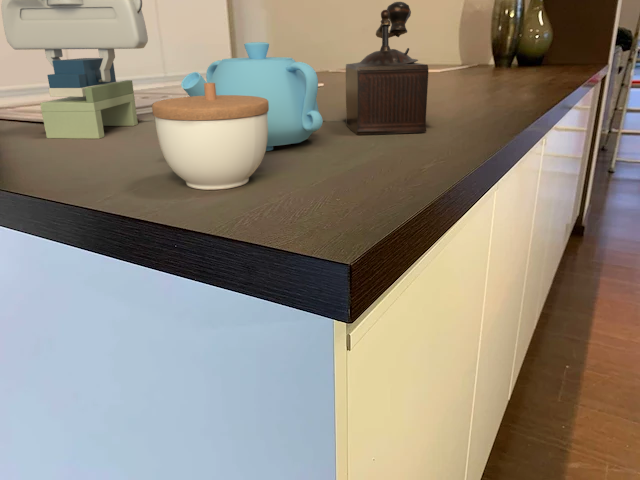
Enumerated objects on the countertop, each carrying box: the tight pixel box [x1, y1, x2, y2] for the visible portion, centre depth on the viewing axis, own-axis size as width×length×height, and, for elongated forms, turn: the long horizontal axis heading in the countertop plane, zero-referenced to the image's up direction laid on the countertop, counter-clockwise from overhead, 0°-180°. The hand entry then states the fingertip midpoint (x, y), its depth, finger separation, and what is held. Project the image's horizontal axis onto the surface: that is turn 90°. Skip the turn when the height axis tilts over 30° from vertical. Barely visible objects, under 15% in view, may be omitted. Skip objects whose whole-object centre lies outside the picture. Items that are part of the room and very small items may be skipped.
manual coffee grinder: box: [345, 1, 429, 135], centre depth 81 cm, size 16×11×18 cm
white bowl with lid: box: [151, 83, 269, 191], centre depth 51 cm, size 11×11×9 cm
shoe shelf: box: [39, 79, 139, 140], centre depth 82 cm, size 8×13×7 cm, turn 174°
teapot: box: [180, 41, 324, 152], centre depth 68 cm, size 20×20×13 cm
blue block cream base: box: [46, 57, 117, 98], centre depth 80 cm, size 11×5×5 cm, turn 174°
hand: (84, 81), depth 80 cm, fingers closed on blue block cream base, 4 cm apart
